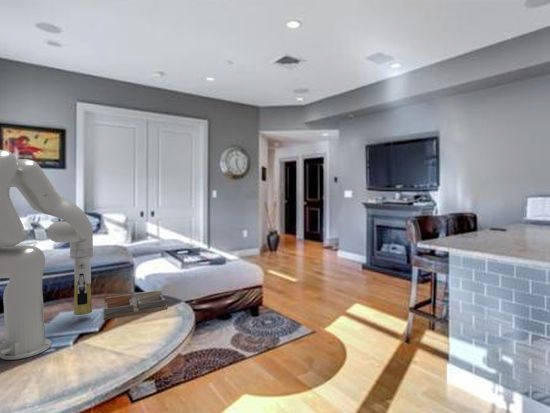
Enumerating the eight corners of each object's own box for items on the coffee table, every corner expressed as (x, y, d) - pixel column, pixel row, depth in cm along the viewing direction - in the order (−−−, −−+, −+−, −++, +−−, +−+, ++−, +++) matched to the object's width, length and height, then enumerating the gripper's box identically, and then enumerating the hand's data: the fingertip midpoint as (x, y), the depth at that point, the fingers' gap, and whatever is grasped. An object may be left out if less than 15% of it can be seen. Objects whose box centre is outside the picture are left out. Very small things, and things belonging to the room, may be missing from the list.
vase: (95, 310, 134) (94, 273, 134) (85, 315, 128) (84, 276, 128) (80, 310, 135) (79, 273, 135) (69, 315, 129) (69, 276, 129)
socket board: (167, 309, 141) (166, 295, 141) (103, 319, 131) (103, 305, 131) (162, 301, 152) (162, 289, 152) (103, 311, 141) (102, 297, 141)
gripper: (92, 255, 126) (93, 306, 125) (93, 251, 141) (94, 296, 141) (68, 257, 122) (69, 309, 122) (71, 252, 138) (72, 299, 137)
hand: (82, 301), depth 131 cm, fingers closed on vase, 5 cm apart
